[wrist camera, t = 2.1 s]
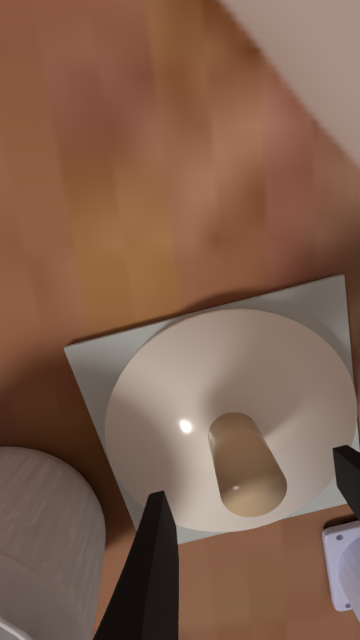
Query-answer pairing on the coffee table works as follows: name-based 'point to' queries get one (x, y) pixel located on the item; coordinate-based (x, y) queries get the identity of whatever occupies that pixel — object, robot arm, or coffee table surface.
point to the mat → (117, 349)
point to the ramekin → (47, 548)
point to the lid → (230, 418)
